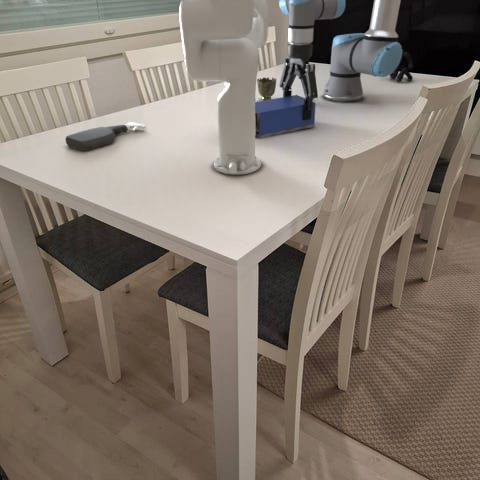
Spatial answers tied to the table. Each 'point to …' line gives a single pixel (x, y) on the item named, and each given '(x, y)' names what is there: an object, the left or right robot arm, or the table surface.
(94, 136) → the spray bottle
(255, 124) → the drawer
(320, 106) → the table surface
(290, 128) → the blue box
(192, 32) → the left robot arm
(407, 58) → the squiggle
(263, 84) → the cup
